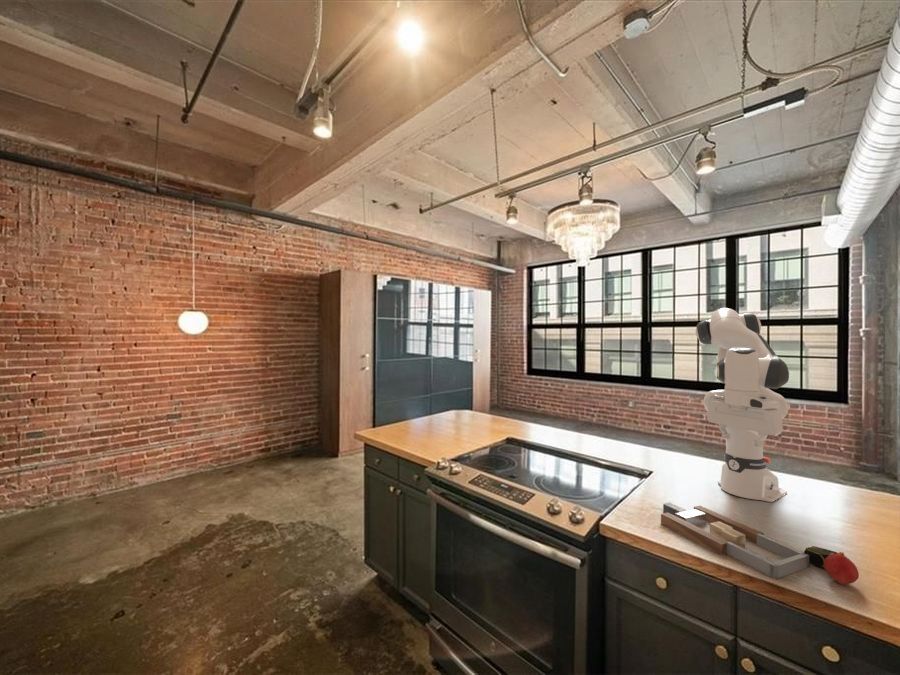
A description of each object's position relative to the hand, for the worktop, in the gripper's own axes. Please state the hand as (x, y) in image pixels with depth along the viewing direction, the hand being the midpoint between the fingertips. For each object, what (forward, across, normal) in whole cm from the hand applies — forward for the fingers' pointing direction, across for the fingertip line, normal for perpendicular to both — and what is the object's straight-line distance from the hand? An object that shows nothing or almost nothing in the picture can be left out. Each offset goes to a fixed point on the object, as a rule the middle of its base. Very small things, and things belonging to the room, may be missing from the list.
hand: (741, 442), depth 116 cm
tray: (+27, +14, -12) cm, 33 cm away
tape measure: (+27, +22, +2) cm, 35 cm away
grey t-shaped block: (+26, -6, -13) cm, 29 cm away
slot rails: (+27, -2, -12) cm, 30 cm away
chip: (+27, +6, -14) cm, 31 cm away
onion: (+27, +26, -6) cm, 38 cm away
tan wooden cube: (+27, +2, -12) cm, 30 cm away
